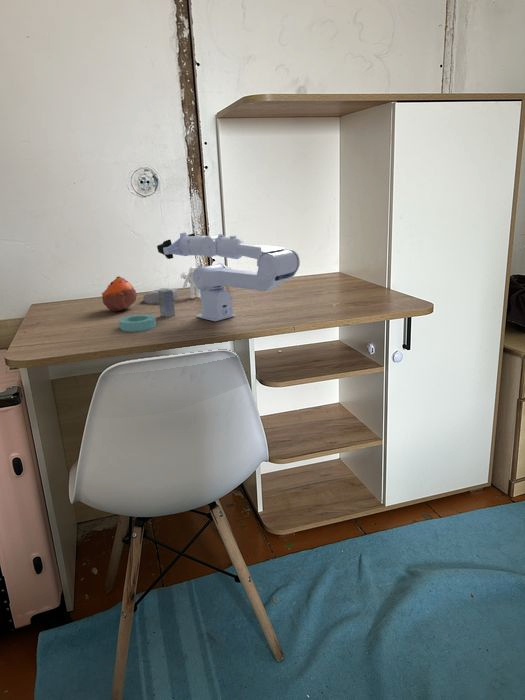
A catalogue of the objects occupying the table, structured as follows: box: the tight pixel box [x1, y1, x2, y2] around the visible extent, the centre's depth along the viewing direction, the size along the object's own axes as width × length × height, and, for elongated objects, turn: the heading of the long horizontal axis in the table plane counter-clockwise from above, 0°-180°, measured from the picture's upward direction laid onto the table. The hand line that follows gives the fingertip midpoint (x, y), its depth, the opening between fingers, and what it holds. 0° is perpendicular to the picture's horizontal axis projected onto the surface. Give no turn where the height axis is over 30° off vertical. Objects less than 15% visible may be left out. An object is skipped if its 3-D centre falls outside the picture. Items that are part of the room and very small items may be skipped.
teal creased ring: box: [119, 313, 157, 333], centre depth 157 cm, size 10×10×2 cm
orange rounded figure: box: [101, 276, 138, 312], centre depth 178 cm, size 12×10×11 cm
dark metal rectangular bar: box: [158, 289, 176, 319], centre depth 167 cm, size 3×3×8 cm
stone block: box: [142, 287, 179, 305], centre depth 192 cm, size 12×5×10 cm
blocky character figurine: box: [180, 262, 202, 299], centre depth 191 cm, size 9×4×12 cm, turn 101°
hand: (168, 246), depth 172 cm, fingers open, 7 cm apart
